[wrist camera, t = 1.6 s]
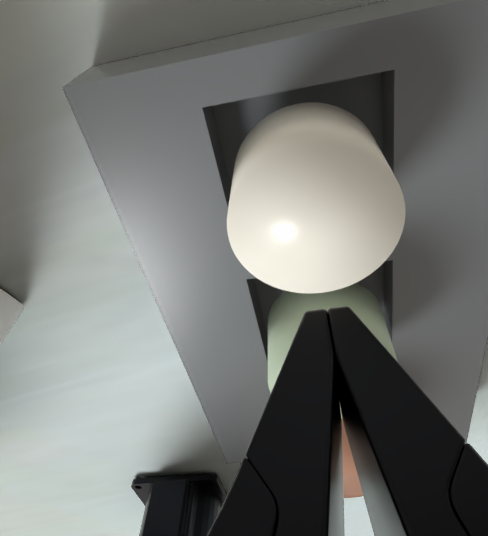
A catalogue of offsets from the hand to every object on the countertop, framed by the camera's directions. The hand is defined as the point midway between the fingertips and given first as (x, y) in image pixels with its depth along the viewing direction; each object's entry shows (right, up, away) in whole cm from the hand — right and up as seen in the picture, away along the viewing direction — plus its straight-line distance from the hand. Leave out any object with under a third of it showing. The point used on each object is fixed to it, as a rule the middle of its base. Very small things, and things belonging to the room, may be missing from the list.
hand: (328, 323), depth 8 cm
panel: (+2, 0, +11) cm, 11 cm away
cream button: (0, +4, +5) cm, 6 cm away
